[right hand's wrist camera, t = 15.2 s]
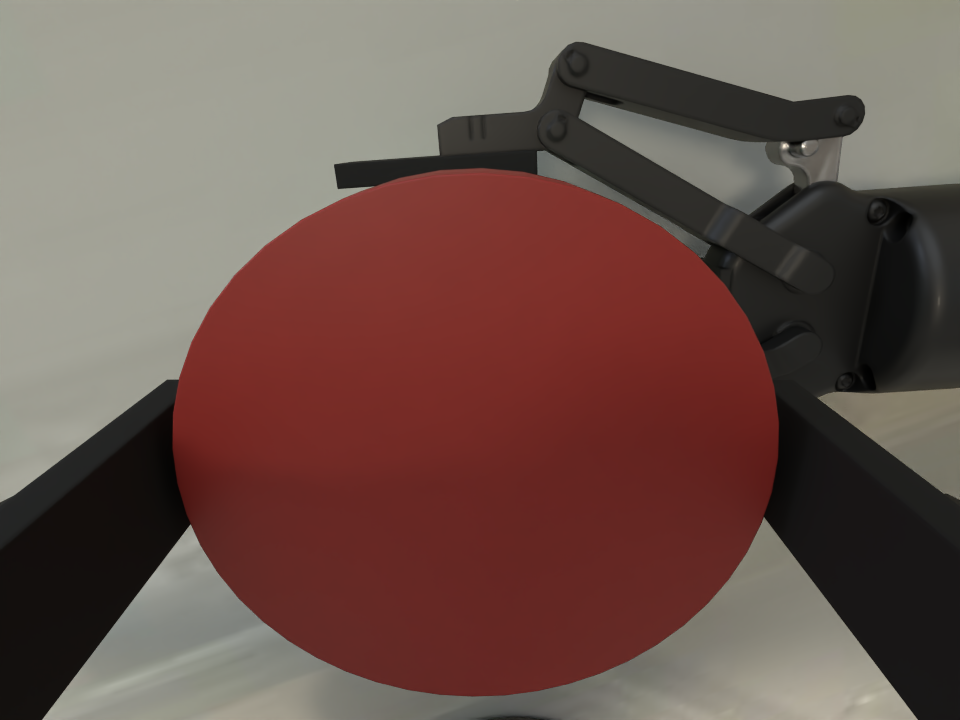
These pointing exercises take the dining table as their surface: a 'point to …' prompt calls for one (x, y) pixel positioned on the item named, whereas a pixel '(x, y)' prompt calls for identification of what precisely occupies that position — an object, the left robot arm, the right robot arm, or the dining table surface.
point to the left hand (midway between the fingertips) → (367, 326)
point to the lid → (475, 433)
